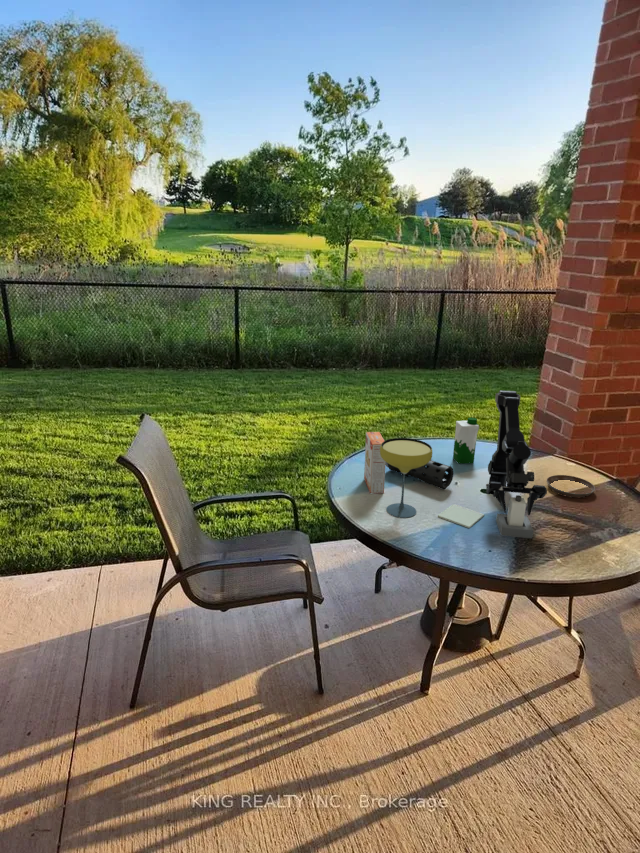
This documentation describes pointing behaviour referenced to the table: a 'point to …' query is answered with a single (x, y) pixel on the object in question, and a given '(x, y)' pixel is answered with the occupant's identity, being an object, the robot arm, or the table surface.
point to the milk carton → (465, 441)
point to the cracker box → (374, 463)
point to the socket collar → (514, 527)
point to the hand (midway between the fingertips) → (517, 514)
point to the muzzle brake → (430, 473)
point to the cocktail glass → (405, 465)
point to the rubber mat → (461, 515)
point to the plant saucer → (571, 478)
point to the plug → (516, 511)
